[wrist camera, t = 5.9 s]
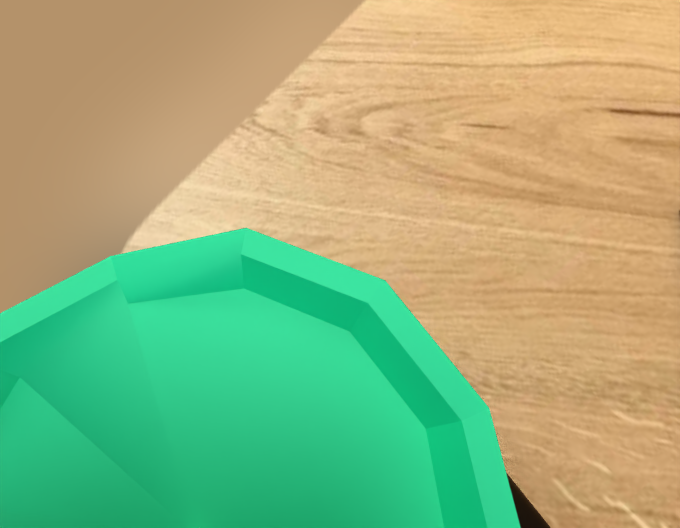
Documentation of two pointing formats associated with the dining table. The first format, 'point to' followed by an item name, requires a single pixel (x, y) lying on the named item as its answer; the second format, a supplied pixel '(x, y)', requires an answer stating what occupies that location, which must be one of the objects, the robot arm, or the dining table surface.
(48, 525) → the candle
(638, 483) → the dining table surface
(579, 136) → the dining table surface
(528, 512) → the robot arm
